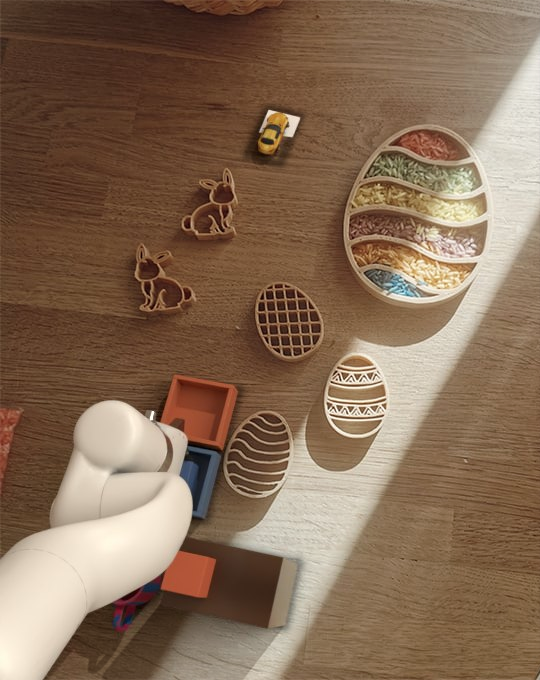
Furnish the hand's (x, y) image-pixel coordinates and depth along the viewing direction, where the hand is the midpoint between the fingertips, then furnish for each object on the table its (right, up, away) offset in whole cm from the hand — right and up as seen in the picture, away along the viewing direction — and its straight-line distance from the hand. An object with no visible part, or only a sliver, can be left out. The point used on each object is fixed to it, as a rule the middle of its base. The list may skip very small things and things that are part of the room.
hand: (179, 478), depth 104 cm
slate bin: (0, -1, +2) cm, 2 cm away
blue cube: (0, 0, +1) cm, 1 cm away
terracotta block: (+6, -8, -18) cm, 21 cm away
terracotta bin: (+2, +8, +5) cm, 10 cm away
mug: (-6, -15, -3) cm, 16 cm away
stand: (+10, -14, -4) cm, 18 cm away
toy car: (+12, +55, +22) cm, 60 cm away
